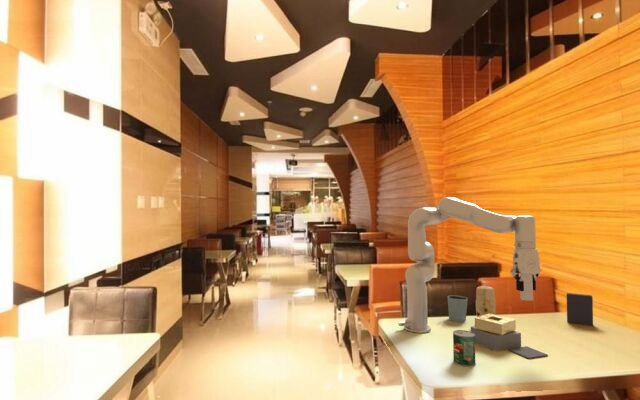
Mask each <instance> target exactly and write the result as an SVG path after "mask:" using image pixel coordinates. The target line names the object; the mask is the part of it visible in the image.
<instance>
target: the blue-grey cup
mask: <svg viewBox="0 0 640 400" xmlns="http://www.w3.org/2000/svg"><path fill="white" fill-rule="evenodd" d="M468 300H469V299H468V297H467V296H463V295H454V294H452V295H448V296H447V308H448V309H447V311H448V320H449V321H452V322H456V323H465V322H466V321H467V310H468V309H467V308H468Z"/></svg>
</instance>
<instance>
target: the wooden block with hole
mask: <svg viewBox="0 0 640 400" xmlns="http://www.w3.org/2000/svg"><path fill="white" fill-rule="evenodd" d="M516 323H517V321H516V319H515V318H511V317H507V316H503V315H497V314H495V315H493V314H486V315H482V316H479V317H477V316H476V317H474V326H475V328H476V329H480V330H484V331H488V332H491V333H495V334H499V335H504V334H507V333H509V332H512V331H517V327H516V326H517V325H516Z"/></svg>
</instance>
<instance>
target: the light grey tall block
mask: <svg viewBox="0 0 640 400" xmlns="http://www.w3.org/2000/svg"><path fill="white" fill-rule="evenodd" d="M522 281H524V291H519V296H520V297H519V299H520V300H521V301H528V302H529V301H532V302H533V301H534V290H533V280H532V274H524V276H523V280H522Z"/></svg>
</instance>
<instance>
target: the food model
mask: <svg viewBox="0 0 640 400" xmlns="http://www.w3.org/2000/svg"><path fill="white" fill-rule="evenodd" d="M495 294H496V293H495V288H494V287H492V286H487V285H480V286H479V285H478V287H476V291H475V313H476V315H475V316H476V317H479V316H482V315H486V314H493V315H497V314H496V313H497V311H496V295H495Z"/></svg>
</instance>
